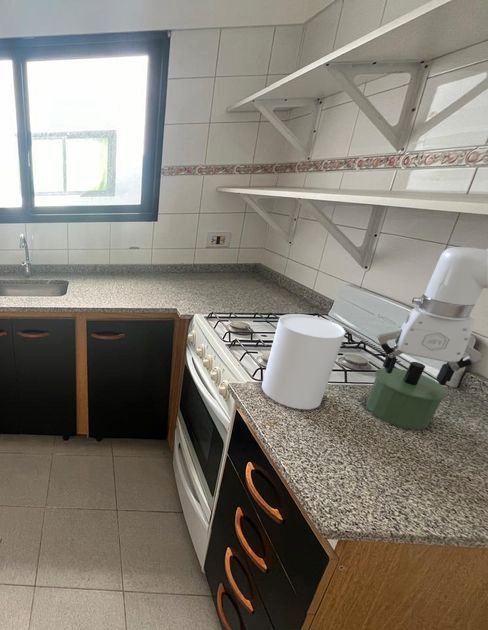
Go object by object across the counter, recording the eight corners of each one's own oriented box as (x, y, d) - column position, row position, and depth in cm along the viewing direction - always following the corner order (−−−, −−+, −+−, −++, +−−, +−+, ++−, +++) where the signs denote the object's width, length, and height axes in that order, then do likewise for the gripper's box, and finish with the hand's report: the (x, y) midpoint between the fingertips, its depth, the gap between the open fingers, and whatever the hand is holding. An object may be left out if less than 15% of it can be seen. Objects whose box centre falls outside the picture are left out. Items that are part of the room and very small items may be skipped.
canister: (251, 379, 97) (267, 315, 89) (296, 376, 98) (316, 312, 90) (283, 411, 85) (304, 339, 77) (334, 407, 86) (360, 336, 78)
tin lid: (436, 380, 82) (447, 359, 80) (453, 409, 73) (466, 386, 70) (370, 366, 89) (378, 346, 86) (378, 391, 79) (387, 369, 77)
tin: (421, 408, 85) (435, 379, 82) (434, 436, 77) (451, 405, 73) (363, 393, 91) (374, 365, 88) (369, 418, 82) (381, 388, 79)
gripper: (394, 304, 74) (367, 373, 81) (514, 322, 65) (472, 397, 72) (388, 294, 80) (363, 359, 87) (497, 309, 71) (460, 379, 78)
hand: (413, 376), depth 80 cm, fingers open, 8 cm apart
